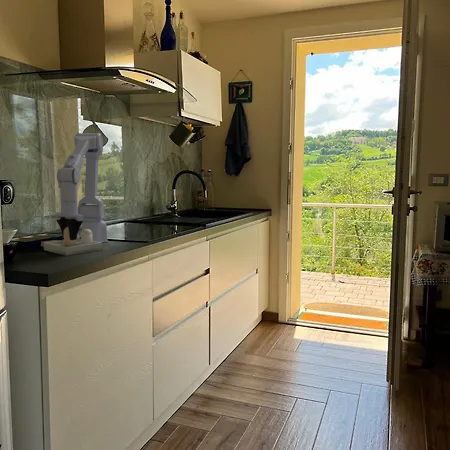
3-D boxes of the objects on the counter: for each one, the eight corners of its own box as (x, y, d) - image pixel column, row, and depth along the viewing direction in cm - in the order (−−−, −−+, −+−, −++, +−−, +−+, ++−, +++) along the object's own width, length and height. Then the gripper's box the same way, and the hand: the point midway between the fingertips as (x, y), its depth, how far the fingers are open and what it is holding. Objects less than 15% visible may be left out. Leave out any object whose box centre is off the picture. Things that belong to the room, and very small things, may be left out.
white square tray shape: (79, 245, 179) (79, 225, 178) (102, 250, 170) (102, 229, 169) (44, 250, 168) (43, 228, 167) (66, 255, 158) (65, 232, 157)
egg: (71, 244, 166) (71, 225, 165) (77, 245, 164) (77, 226, 163) (61, 245, 163) (61, 226, 162) (67, 247, 161) (67, 227, 160)
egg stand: (57, 243, 181) (57, 240, 181) (66, 245, 177) (66, 242, 177) (40, 245, 176) (40, 242, 176) (49, 248, 172) (49, 244, 171)
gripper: (47, 200, 163) (48, 237, 165) (70, 203, 154) (71, 242, 155) (65, 199, 168) (66, 236, 170) (88, 202, 159) (88, 240, 161)
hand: (69, 239), depth 163 cm, fingers closed on egg, 4 cm apart
